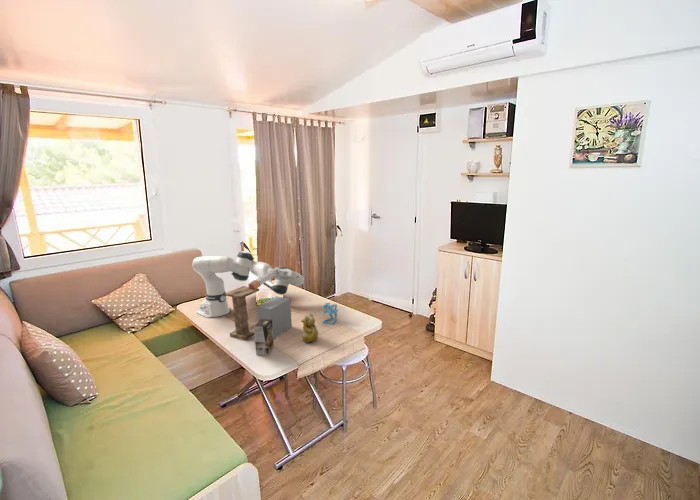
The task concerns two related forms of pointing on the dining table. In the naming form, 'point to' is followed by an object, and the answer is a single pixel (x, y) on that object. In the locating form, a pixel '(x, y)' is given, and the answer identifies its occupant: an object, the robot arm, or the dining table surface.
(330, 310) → the blue strut sculpture
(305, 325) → the decorative figurine
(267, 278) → the light slender bar
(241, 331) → the walnut shelf
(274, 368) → the dining table surface
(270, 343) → the coffee box
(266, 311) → the block
